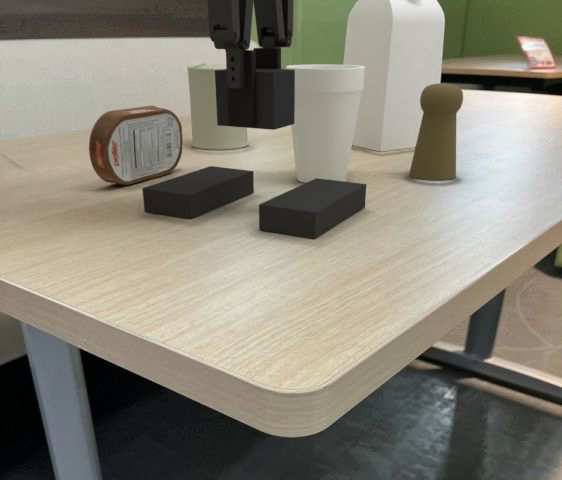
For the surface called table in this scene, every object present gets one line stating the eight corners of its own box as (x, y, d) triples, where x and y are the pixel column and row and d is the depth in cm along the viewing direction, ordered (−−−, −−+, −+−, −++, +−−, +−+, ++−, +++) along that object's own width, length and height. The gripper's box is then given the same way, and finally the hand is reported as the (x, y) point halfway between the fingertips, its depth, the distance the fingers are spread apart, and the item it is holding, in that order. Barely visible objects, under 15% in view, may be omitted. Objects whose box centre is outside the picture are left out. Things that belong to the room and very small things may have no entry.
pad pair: (144, 211, 66) (141, 188, 65) (211, 187, 76) (210, 165, 75) (314, 239, 58) (315, 212, 57) (365, 207, 68) (366, 183, 67)
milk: (388, 135, 112) (403, -40, 99) (435, 144, 103) (458, -45, 90) (335, 141, 106) (343, -44, 93) (380, 151, 97) (396, -50, 85)
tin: (171, 167, 86) (165, 101, 82) (189, 170, 85) (184, 102, 81) (92, 189, 75) (81, 114, 71) (111, 192, 74) (101, 116, 70)
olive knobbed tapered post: (455, 171, 85) (467, 82, 79) (456, 181, 79) (469, 86, 74) (410, 169, 86) (419, 81, 80) (408, 179, 81) (417, 85, 75)
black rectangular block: (217, 125, 63) (214, 70, 60) (239, 120, 66) (238, 67, 64) (274, 129, 60) (273, 72, 58) (294, 124, 64) (295, 69, 61)
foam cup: (311, 190, 75) (314, 70, 69) (271, 176, 82) (270, 65, 75) (373, 181, 79) (381, 67, 73) (330, 168, 86) (334, 63, 80)
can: (187, 141, 105) (181, 61, 99) (240, 139, 107) (238, 61, 101) (198, 151, 97) (192, 65, 91) (255, 148, 100) (253, 64, 94)
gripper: (233, -220, 43) (243, 136, 55) (334, -163, 57) (325, 114, 68) (147, -204, 46) (173, 130, 58) (261, -154, 60) (265, 110, 71)
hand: (255, 121), depth 63 cm, fingers closed on black rectangular block, 4 cm apart
